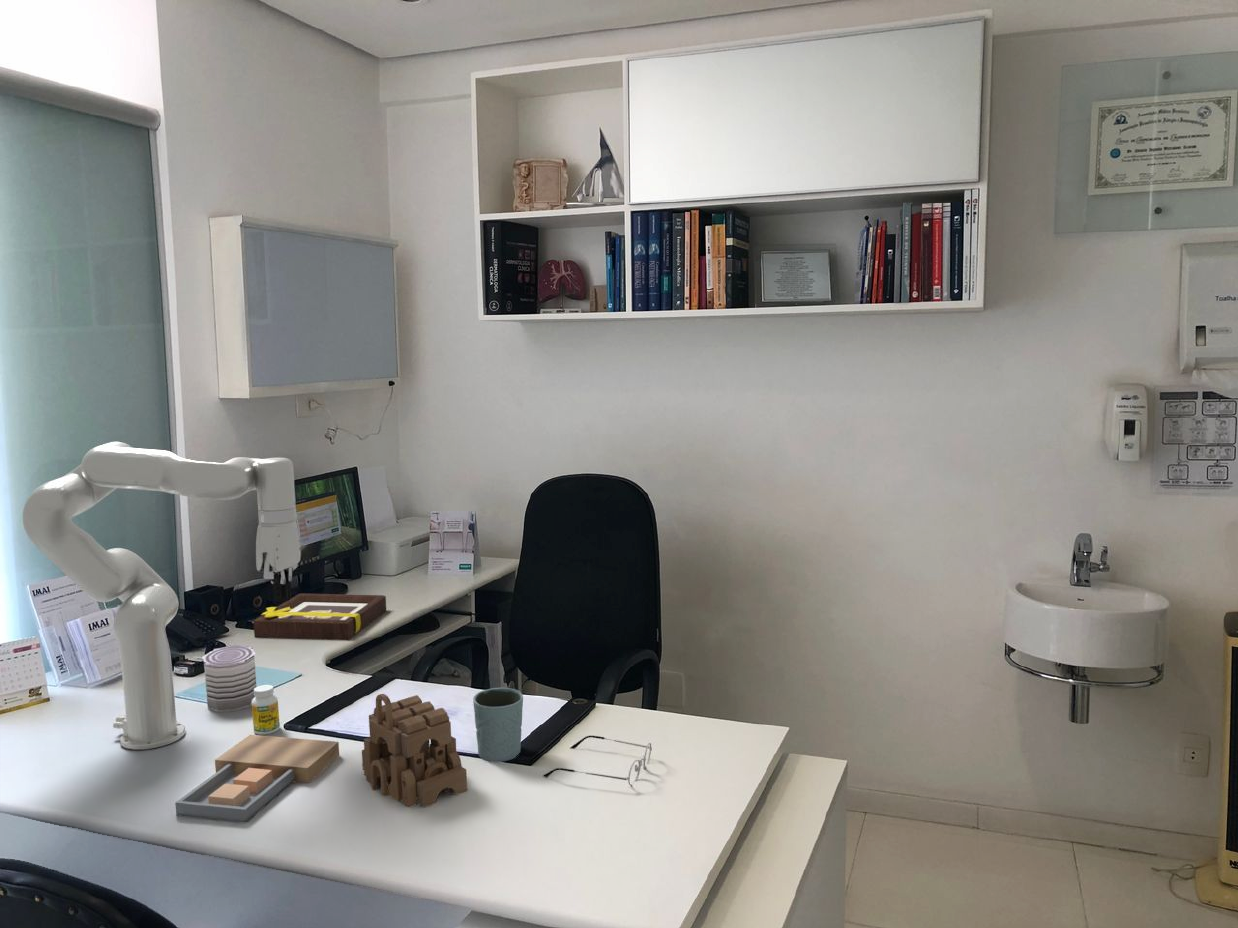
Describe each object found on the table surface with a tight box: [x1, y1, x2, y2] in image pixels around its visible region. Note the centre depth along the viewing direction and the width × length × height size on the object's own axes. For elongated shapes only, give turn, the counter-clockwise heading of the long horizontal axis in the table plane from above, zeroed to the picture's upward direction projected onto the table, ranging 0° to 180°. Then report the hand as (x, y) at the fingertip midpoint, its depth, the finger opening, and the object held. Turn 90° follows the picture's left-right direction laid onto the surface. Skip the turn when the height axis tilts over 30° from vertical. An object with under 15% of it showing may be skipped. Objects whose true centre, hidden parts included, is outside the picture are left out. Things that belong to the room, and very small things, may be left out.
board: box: [214, 734, 340, 784], centre depth 195 cm, size 20×12×3 cm, turn 78°
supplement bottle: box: [251, 684, 281, 736], centre depth 212 cm, size 5×5×10 cm
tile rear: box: [233, 768, 273, 793], centre depth 186 cm, size 5×5×2 cm
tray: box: [174, 764, 296, 824], centre depth 182 cm, size 14×16×2 cm
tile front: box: [208, 784, 250, 806], centre depth 179 cm, size 5×5×2 cm
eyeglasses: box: [543, 735, 653, 786], centre depth 191 cm, size 16×19×5 cm
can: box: [201, 644, 258, 713], centre depth 228 cm, size 11×11×12 cm
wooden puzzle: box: [361, 693, 468, 808], centre depth 187 cm, size 22×15×19 cm, turn 43°
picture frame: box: [253, 593, 387, 641], centre depth 288 cm, size 28×7×30 cm
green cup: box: [472, 687, 524, 763], centre depth 198 cm, size 10×10×12 cm
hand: (282, 600), depth 210 cm, fingers closed
